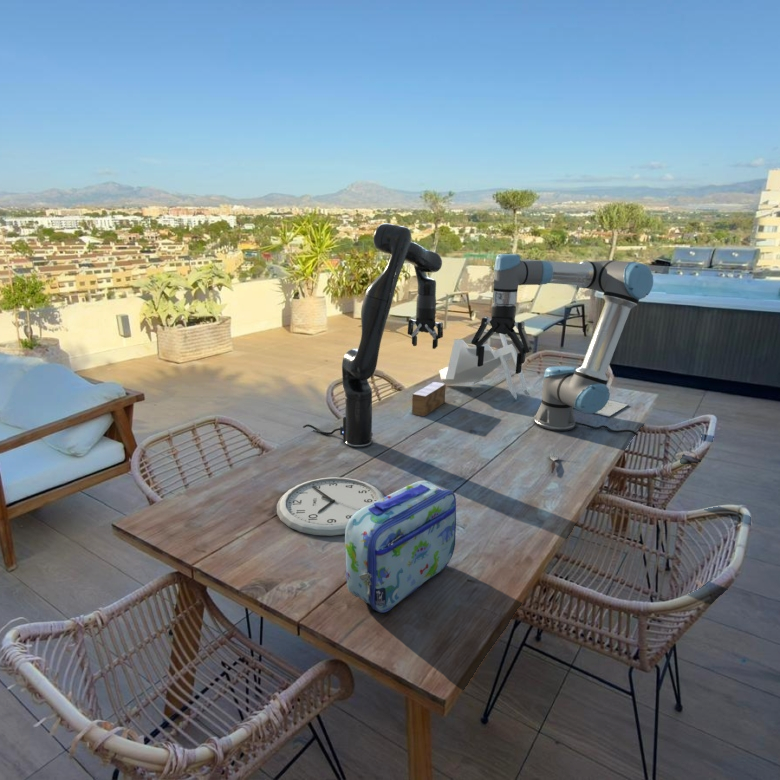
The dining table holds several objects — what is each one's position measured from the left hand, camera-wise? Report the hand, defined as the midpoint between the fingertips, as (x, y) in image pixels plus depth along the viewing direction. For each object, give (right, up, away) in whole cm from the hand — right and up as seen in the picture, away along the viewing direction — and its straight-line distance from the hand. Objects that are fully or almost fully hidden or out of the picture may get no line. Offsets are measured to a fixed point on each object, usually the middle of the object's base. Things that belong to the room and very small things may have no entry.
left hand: (424, 347), depth 207 cm
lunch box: (-11, -59, -95) cm, 112 cm away
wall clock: (-29, -49, -64) cm, 86 cm away
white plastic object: (+28, -18, +36) cm, 49 cm away
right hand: (+22, -10, -35) cm, 43 cm away
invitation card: (+78, -24, +19) cm, 84 cm away
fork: (+39, -41, -37) cm, 68 cm away
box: (+3, -25, +14) cm, 28 cm away
